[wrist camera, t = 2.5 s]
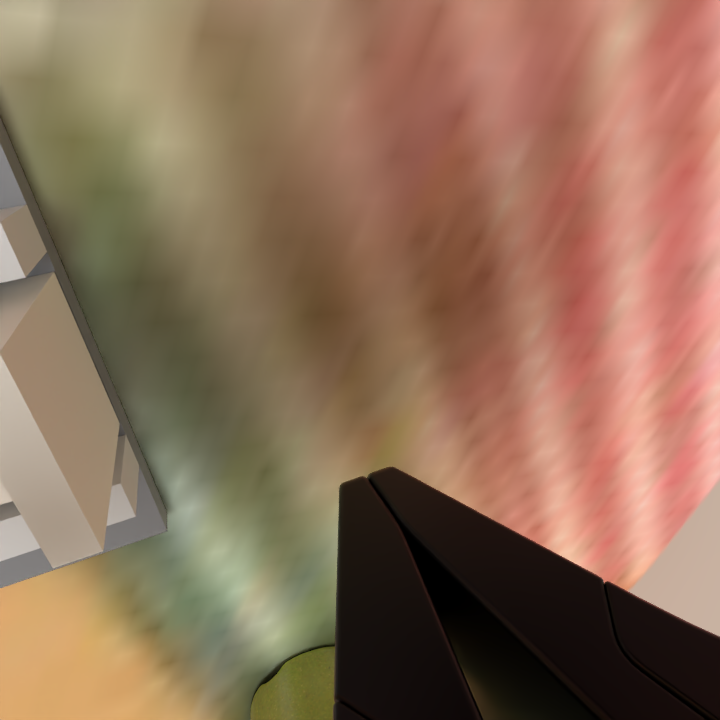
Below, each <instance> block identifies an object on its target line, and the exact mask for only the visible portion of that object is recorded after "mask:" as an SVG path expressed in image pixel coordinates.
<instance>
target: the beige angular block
mask: <svg viewBox="0 0 720 720" xmlns="http://www.w3.org/2000/svg"><path fill="white" fill-rule="evenodd" d="M119 425H120V423H119V421H118V419H117V416H116V414H115V412H114V409H113V407H112V405H111V402H110V400H109V398H108V396H107V393H106V391H105V389H104V386H103V384H102V382H101V379H100V377H99V375H98V372H97V370H96V368H95V365H94V363H93V361H92V359H91V356H90V354H89V352H88V349H87V347H86V345H85V342H84V340H83V338H82V335H81V333H80V331H79V328H78V326H77V324H76V322H75V319H74V317H73V315H72V312H71V310H70V308H69V305H68V303H67V301H66V298H65V296H64V294H63V291H62V289H61V287H60V285H59V282H58V280H57V278H56V275H55V273H54V272H51V273H46V274H42V275H37V276H32V277H28V278H23V279H19V280H14V281H10V282H5V283H1V284H0V505H2V504H5V503H8V502H11V501H13V502H14V504H15V506H16V507H17V509H18V511H19V512H20V514H21V516H22V517H23V519H24V521H25V522H26V524H27V526H28V527H29V529H30V531H31V532H32V534H33V536H34V538H35V539H36V541H37V543H38V544H39V546H40V548H41V549H42V551H43V553H44V554H45V556H46V558H47V559H48V561H49V563H50V564H51V566H52V568H56V567H59V566H62V565H65V564H68V563H71V562H74V561H77V560H80V559H83V558H85V557H88V556H91V555H94V554H97V553H100V552H103V549H104V541H105V534H106V526H107V518H108V510H109V503H110V495H111V487H112V480H113V472H114V464H115V456H116V449H117V441H118V433H119Z"/></svg>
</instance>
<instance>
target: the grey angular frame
mask: <svg viewBox="0 0 720 720" xmlns="http://www.w3.org/2000/svg"><path fill="white" fill-rule="evenodd" d="M51 272H54V273H55V275H56V278H57V280H58V282H59V285H60V287H61V289H62V291H63V294H64V296H65V298H66V301H67V303H68V305H69V308H70V310H71V312H72V315H73V317H74V319H75V322H76V324H77V326H78V328H79V331H80V333H81V335H82V338H83V340H84V342H85V345H86V347H87V349H88V352H89V354H90V356H91V359H92V361H93V363H94V365H95V368H96V370H97V372H98V375H99V377H100V379H101V382H102V384H103V386H104V389H105V391H106V393H107V396H108V398H109V400H110V402H111V405H112V407H113V409H114V412H115V414H116V416H117V419H118V421H119V423H120V425H119V433H118V441H117V449H116V456H115V464H114V472H113V480H112V487H111V495H110V503H109V510H108V518H107V526H106V534H105V541H104V549H103V552H100V553H97V554H94V555H91V556H88V557H85V558H83V559H80V560H77V561H74V562H71V563H68V564H65V565H62V566H59V567H56V568H52V566H51V564H50V563H49V561H48V559H47V558H46V556H45V554H44V553H43V551H42V549H41V548H40V546H39V544H38V543H37V541H36V539H35V538H34V536H33V534H32V532H31V531H30V529H29V527H28V526H27V524H26V522H25V521H24V519H23V517H22V516H21V514H20V512H19V511H18V509H17V507H16V506H15V504H14V502H13V501H11V502H8V503H5V504H2V505H0V588H2V587H5V586H8V585H11V584H14V583H17V582H20V581H23V580H26V579H29V578H32V577H35V576H38V575H40V574H43V573H46V572H49V571H52V570H55V569H58V568H61V567H64V566H67V565H70V564H73V563H76V562H79V561H81V560H84V559H87V558H90V557H93V556H96V555H99V554H102V553H105V552H108V551H111V550H114V549H117V548H119V547H122V546H125V545H128V544H131V543H134V542H137V541H140V540H143V539H146V538H149V537H152V536H155V535H158V534H160V533H163V532H166V531H167V511H166V509H165V506H164V504H163V502H162V499H161V497H160V494H159V492H158V490H157V487H156V485H155V483H154V480H153V478H152V476H151V473H150V471H149V468H148V466H147V464H146V461H145V459H144V457H143V454H142V452H141V449H140V447H139V445H138V442H137V440H136V438H135V435H134V433H133V430H132V428H131V426H130V423H129V421H128V419H127V416H126V414H125V411H124V409H123V407H122V404H121V402H120V400H119V397H118V395H117V393H116V390H115V388H114V385H113V383H112V381H111V378H110V376H109V374H108V371H107V369H106V366H105V364H104V362H103V359H102V357H101V355H100V352H99V350H98V347H97V345H96V343H95V340H94V338H93V336H92V333H91V331H90V328H89V326H88V324H87V321H86V319H85V317H84V314H83V312H82V310H81V307H80V305H79V302H78V300H77V298H76V295H75V293H74V291H73V288H72V286H71V283H70V281H69V279H68V276H67V274H66V272H65V269H64V267H63V264H62V262H61V260H60V257H59V255H58V253H57V250H56V248H55V245H54V243H53V241H52V238H51V236H50V234H49V231H48V229H47V227H46V224H45V222H44V219H43V217H42V215H41V212H40V210H39V208H38V205H37V203H36V200H35V198H34V196H33V193H32V191H31V189H30V186H29V184H28V181H27V179H26V177H25V174H24V172H23V170H22V167H21V165H20V162H19V160H18V158H17V155H16V153H15V151H14V148H13V146H12V143H11V141H10V139H9V136H8V134H7V132H6V129H5V127H4V125H3V122H2V120H1V117H0V284H1V283H5V282H10V281H14V280H19V279H23V278H28V277H32V276H37V275H42V274H46V273H51Z"/></svg>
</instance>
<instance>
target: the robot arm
mask: <svg viewBox="0 0 720 720" xmlns="http://www.w3.org/2000/svg"><path fill="white" fill-rule="evenodd" d="M334 702H335V704H334V705H333V719H332V720H720V637H719V636H717V635H715V634H713V633H710V632H708V631H706V630H704V629H702V628H699V627H697V626H695V625H693V624H691V623H689V622H686V621H685V620H683V619H681V618H679V617H677V616H674V615H673V614H671V613H669V612H667V611H664V610H663V609H661V608H659V607H657V606H655V605H653V604H651V603H649V602H647V601H645V600H643V599H641V598H639V597H637V596H635V595H633V594H632V593H630V592H628V591H626V590H624V589H622V588H620V587H618V586H617V585H615V584H613V583H611V582H608V581H607V582H605V583H604V582H603V579H602V578H601V577H599V576H597V575H596V574H594V573H592V572H590V571H588V570H586V569H584V568H582V567H581V566H579V565H577V564H575V563H573V562H571V561H569V560H567V559H566V558H564V557H562V556H560V555H558V554H556V553H554V552H552V551H551V550H549V549H547V548H545V547H543V546H541V545H539V544H537V543H536V542H534V541H532V540H530V539H528V538H526V537H524V536H522V535H521V534H519V533H517V532H515V531H513V530H511V529H509V528H507V527H506V526H504V525H502V524H500V523H498V522H496V521H494V520H492V519H491V518H489V517H487V516H485V515H483V514H481V513H479V512H477V511H476V510H474V509H472V508H470V507H468V506H466V505H464V504H462V503H461V502H459V501H457V500H455V499H453V498H451V497H449V496H448V495H446V494H444V493H442V492H440V491H438V490H436V489H434V488H433V487H431V486H429V485H427V484H425V483H423V482H421V481H419V480H418V479H416V478H414V477H412V476H410V475H408V474H406V473H404V472H403V471H401V470H399V469H397V468H395V467H387V468H384V469H381V470H378V471H376V472H373V473H370V474H369V475H368V477H367V478H366V477H363V476H361V477H358V478H355V479H352V480H350V481H347V482H344V483H342V484H341V485H340V488H339V521H338V557H337V592H336V628H335V663H334Z"/></svg>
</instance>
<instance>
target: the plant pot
mask: <svg viewBox="0 0 720 720" xmlns="http://www.w3.org/2000/svg"><path fill="white" fill-rule="evenodd" d="M334 663H335V647H324V648H319V649H315V650H312V651H309V652H306V653H303V654H300V655H298V656H296V657H294V658H292V659H290V660H289V661H287V662H286V663H285V664H284V665H283V666H282V667H281V669H280V670H279V672H278V673H277V674H276V675H275V676H274V677H273V678H272V679H271V680H270V681H269V682H267V683H265V684H262V685H261V686H260V687H259V688H258V690H257V692H256V694H255V696H254V698H253V701H252V705H251V720H332V719H333V705H334V704H335V702H334Z"/></svg>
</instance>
